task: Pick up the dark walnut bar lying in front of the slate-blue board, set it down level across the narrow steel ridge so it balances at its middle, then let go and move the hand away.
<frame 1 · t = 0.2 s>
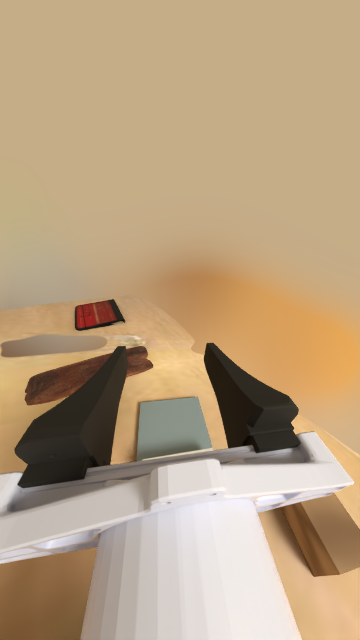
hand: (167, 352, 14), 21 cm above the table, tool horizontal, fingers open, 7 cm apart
wooden tablet: (97, 372, 38), on the table
binder: (99, 316, 62), on the table
walnut bar: (274, 464, 25), on the table
ridge stand: (177, 473, 22), on the table
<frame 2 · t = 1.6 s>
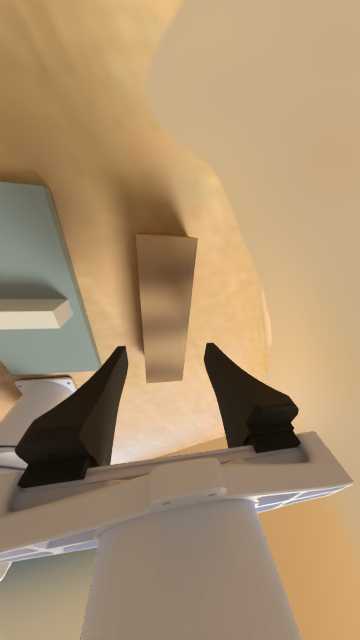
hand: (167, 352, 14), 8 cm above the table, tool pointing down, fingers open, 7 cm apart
walnut bar: (163, 308, 21), on the table
ridge stand: (29, 303, 18), on the table
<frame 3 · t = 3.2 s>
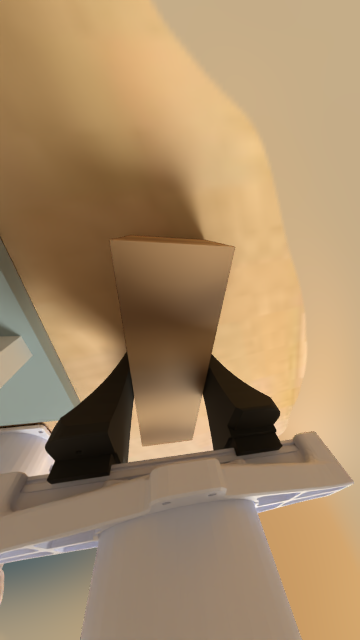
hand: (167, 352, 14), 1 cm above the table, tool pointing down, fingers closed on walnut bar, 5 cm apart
walnut bar: (166, 341, 15), on the table, touching gripper
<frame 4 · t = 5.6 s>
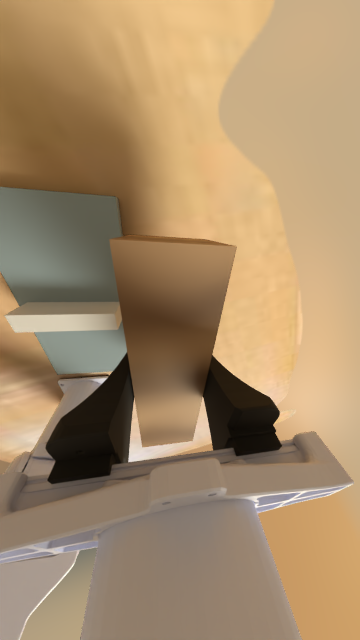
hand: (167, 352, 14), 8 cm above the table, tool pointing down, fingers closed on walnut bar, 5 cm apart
walnut bar: (166, 341, 15), point 7 cm above the table, touching gripper
ridge stand: (82, 306, 19), on the table
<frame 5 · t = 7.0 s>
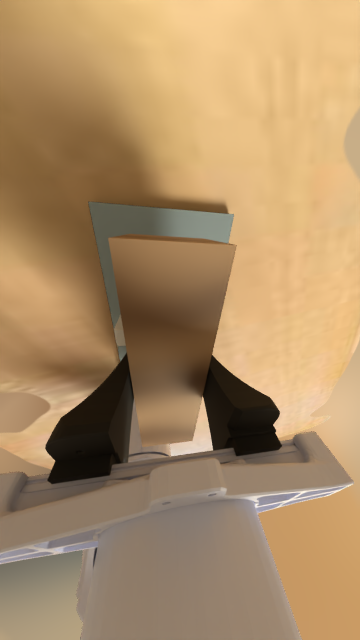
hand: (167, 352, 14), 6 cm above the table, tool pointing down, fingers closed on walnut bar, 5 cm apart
walnut bar: (166, 341, 15), point 5 cm above the table, touching gripper
ridge stand: (164, 317, 19), on the table
when the fingers open (6 cm above the table, at t = 8.0 s): walnut bar stays where it is, resting on ridge stand.
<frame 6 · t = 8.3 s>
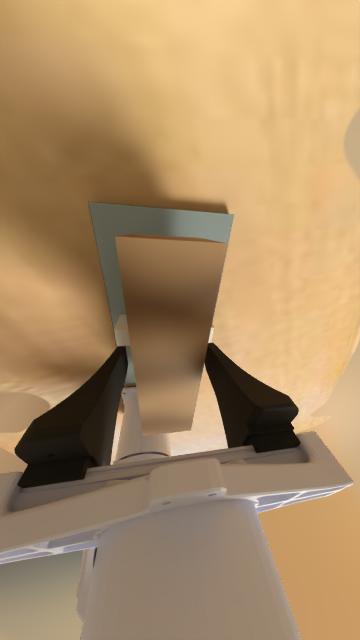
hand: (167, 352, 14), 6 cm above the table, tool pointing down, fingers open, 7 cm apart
walnut bar: (166, 335, 15), point 4 cm above the table, touching ridge stand
ridge stand: (164, 317, 19), on the table
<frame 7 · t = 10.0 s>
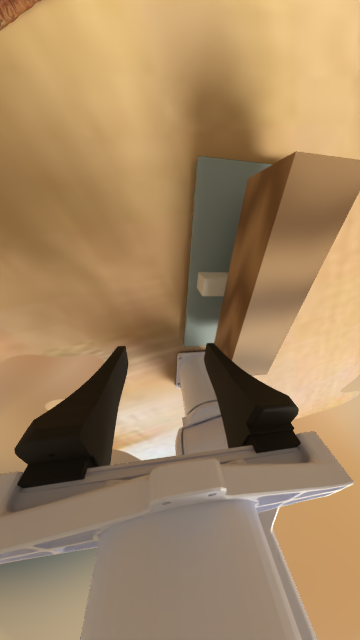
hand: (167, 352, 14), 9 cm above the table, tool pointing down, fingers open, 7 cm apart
walnut bar: (246, 286, 17), point 4 cm above the table, touching ridge stand
ridge stand: (231, 278, 21), on the table
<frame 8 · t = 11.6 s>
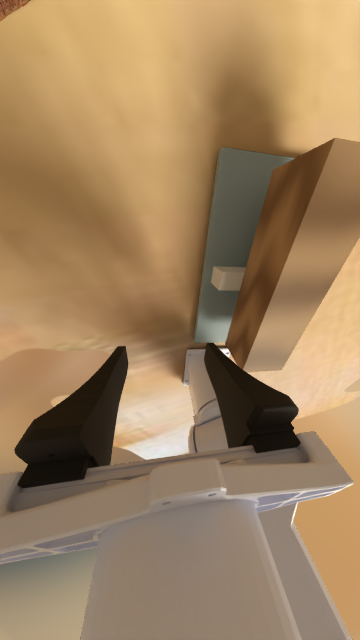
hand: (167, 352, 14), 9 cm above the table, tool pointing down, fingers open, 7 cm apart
walnut bar: (262, 281, 17), point 4 cm above the table, touching ridge stand
ridge stand: (245, 273, 20), on the table
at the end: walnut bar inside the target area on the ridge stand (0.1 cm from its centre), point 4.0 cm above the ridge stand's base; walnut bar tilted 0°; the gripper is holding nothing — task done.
